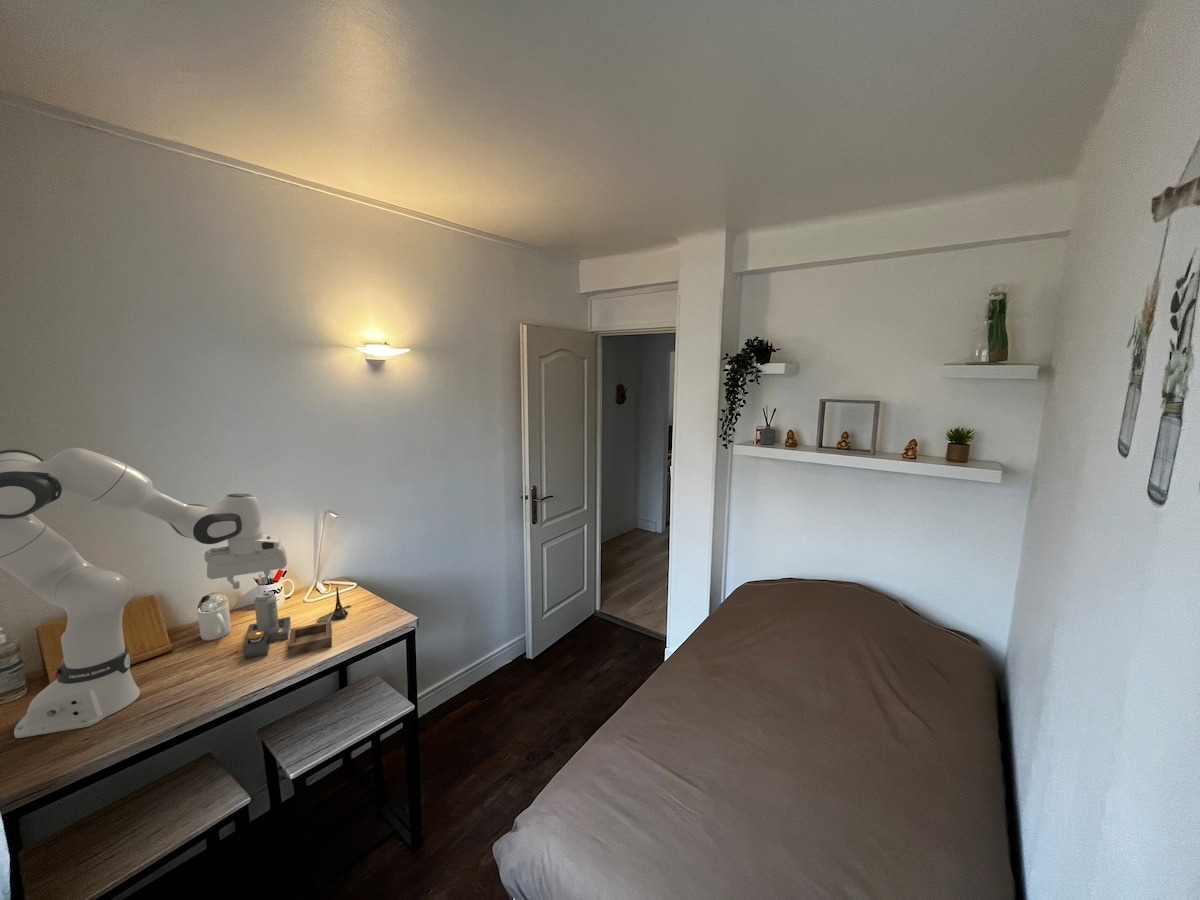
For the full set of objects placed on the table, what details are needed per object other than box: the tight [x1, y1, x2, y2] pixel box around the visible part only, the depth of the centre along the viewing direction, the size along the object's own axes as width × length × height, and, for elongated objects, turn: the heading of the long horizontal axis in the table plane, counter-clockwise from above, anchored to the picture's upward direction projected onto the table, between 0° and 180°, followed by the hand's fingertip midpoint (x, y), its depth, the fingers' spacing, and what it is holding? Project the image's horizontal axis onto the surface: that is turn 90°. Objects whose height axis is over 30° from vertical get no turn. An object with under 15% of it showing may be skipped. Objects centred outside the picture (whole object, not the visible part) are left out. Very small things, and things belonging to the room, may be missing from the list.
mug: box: [197, 600, 232, 641], centre depth 161 cm, size 12×8×10 cm
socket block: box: [242, 616, 292, 661], centre depth 159 cm, size 12×20×5 cm, turn 29°
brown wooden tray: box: [287, 620, 333, 658], centre depth 159 cm, size 12×12×4 cm
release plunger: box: [247, 629, 264, 643], centre depth 152 cm, size 4×4×6 cm
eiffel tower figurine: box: [316, 586, 352, 624], centre depth 176 cm, size 15×10×13 cm
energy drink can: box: [254, 590, 280, 634], centre depth 162 cm, size 6×6×15 cm
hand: (250, 585), depth 149 cm, fingers open, 6 cm apart
